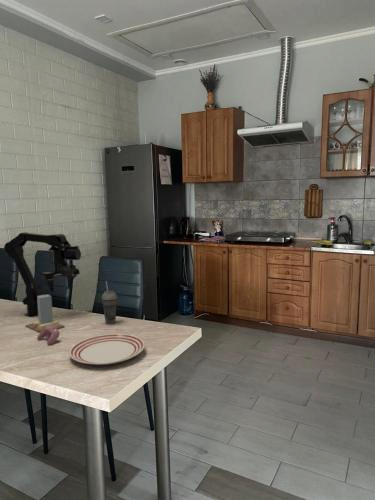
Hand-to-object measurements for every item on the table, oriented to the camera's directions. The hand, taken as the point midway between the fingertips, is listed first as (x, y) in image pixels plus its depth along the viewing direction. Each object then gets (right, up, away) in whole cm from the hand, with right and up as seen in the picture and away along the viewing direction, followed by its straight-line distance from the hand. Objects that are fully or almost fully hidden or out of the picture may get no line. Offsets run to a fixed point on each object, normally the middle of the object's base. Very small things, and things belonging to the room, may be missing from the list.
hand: (61, 290), depth 187 cm
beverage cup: (+27, -14, -10) cm, 32 cm away
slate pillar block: (-2, -13, -16) cm, 21 cm away
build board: (-2, -15, -15) cm, 21 cm away
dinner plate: (+33, -19, -47) cm, 61 cm away
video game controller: (+6, -17, -33) cm, 38 cm away
